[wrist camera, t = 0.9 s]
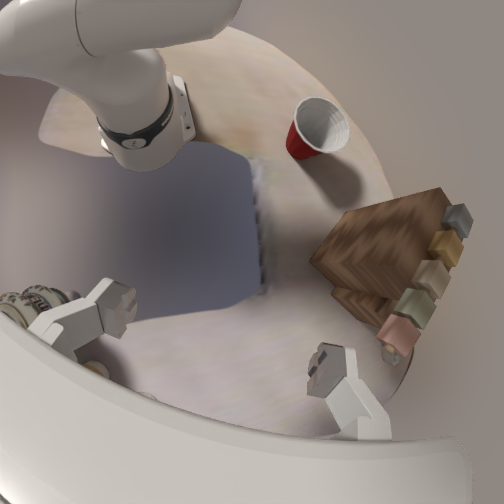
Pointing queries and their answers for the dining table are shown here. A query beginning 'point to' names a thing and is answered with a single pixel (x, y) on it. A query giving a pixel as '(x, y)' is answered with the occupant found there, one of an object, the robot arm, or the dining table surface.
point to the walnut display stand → (380, 252)
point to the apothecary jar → (31, 303)
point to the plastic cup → (317, 128)
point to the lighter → (390, 357)
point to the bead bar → (427, 283)
